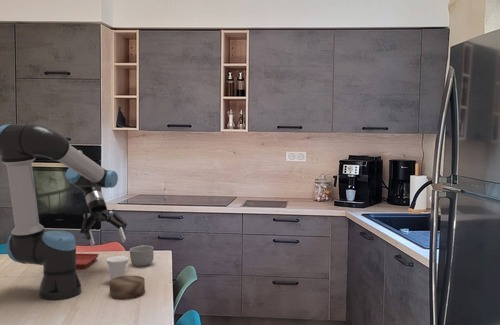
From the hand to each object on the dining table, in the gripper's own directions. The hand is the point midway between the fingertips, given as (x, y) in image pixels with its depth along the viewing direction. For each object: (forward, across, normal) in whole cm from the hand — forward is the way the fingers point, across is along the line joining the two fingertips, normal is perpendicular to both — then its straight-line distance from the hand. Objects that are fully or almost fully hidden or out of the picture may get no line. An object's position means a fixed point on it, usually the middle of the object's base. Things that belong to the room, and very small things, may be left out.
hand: (109, 243), depth 213 cm
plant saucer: (-9, +7, -30) cm, 32 cm away
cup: (+18, 0, -3) cm, 18 cm away
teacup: (+4, -19, -17) cm, 26 cm away
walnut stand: (+28, +3, +8) cm, 30 cm away
